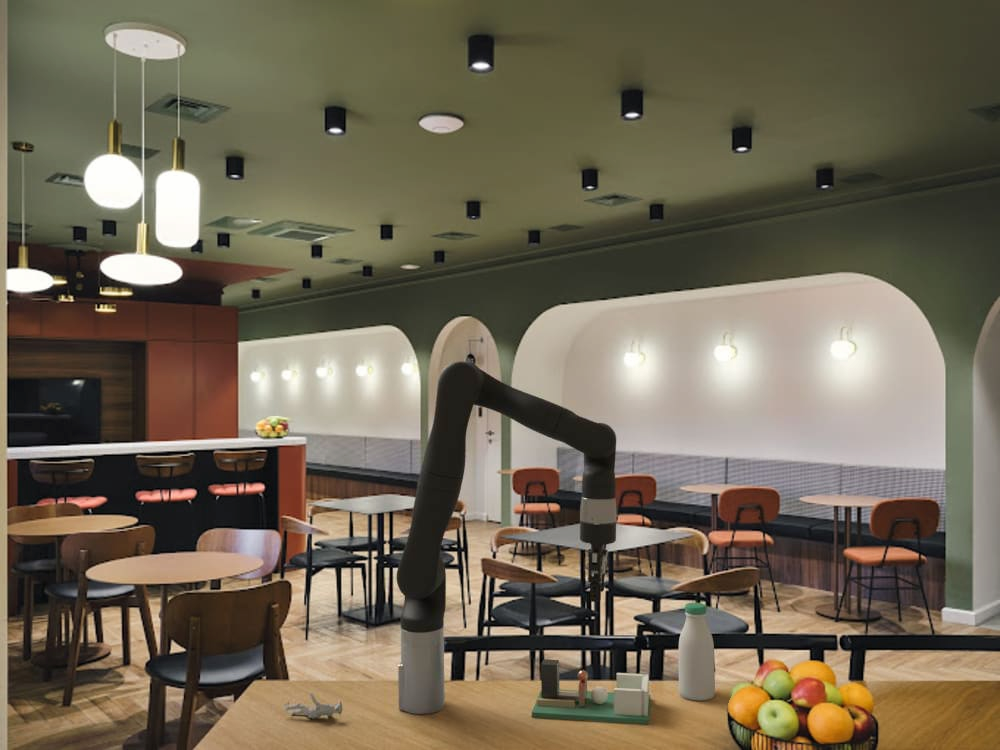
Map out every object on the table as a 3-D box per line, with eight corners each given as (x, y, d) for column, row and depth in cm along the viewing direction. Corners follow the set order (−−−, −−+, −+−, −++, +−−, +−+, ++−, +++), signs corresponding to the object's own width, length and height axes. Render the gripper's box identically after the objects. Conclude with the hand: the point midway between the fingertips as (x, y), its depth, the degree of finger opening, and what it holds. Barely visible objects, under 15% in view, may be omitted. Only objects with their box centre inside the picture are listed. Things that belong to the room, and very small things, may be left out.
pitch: (531, 717, 181) (531, 706, 181) (541, 692, 195) (541, 683, 195) (648, 724, 177) (648, 713, 177) (650, 699, 191) (650, 689, 191)
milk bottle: (715, 702, 188) (714, 610, 188) (679, 700, 190) (677, 608, 190) (714, 690, 196) (712, 600, 196) (679, 688, 197) (677, 599, 197)
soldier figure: (300, 713, 188) (350, 698, 186) (298, 735, 184) (349, 720, 182) (281, 697, 183) (333, 682, 181) (279, 719, 179) (332, 704, 177)
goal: (614, 714, 180) (613, 689, 180) (617, 695, 190) (616, 672, 190) (647, 716, 179) (647, 691, 179) (648, 697, 189) (648, 674, 189)
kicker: (540, 704, 185) (540, 666, 185) (544, 693, 191) (544, 657, 191) (586, 706, 183) (586, 668, 183) (589, 696, 189) (589, 659, 189)
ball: (590, 706, 184) (590, 689, 184) (591, 700, 188) (591, 683, 188) (607, 707, 184) (607, 690, 184) (608, 701, 187) (608, 684, 187)
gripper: (583, 512, 190) (582, 587, 190) (576, 523, 176) (575, 603, 176) (618, 514, 189) (617, 589, 189) (613, 525, 175) (612, 606, 175)
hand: (597, 596), depth 183 cm, fingers open, 8 cm apart
